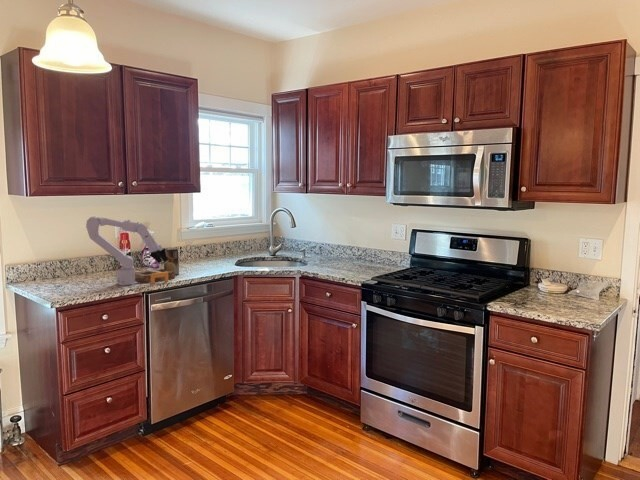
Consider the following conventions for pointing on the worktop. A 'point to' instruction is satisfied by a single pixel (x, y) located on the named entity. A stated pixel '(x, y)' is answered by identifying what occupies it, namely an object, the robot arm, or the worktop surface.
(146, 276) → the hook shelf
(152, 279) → the orange arch block
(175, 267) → the coffee box
